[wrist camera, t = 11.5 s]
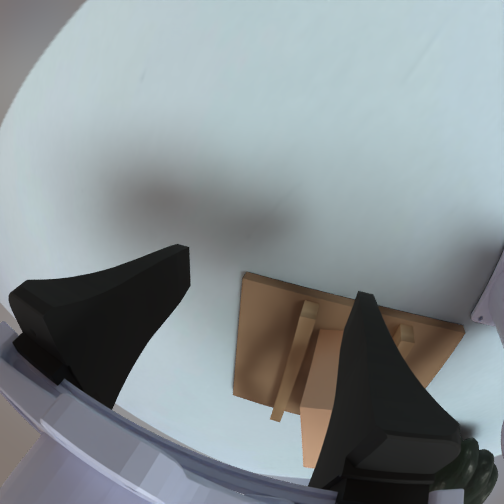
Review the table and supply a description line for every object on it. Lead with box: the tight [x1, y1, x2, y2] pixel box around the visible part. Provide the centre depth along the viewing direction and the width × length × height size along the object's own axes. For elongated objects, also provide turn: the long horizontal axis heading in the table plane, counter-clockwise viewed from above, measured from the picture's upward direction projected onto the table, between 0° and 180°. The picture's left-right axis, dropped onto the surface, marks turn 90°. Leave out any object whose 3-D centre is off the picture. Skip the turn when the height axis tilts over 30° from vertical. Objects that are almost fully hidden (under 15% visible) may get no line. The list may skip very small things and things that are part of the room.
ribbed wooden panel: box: [233, 272, 465, 422], centre depth 26 cm, size 20×18×3 cm
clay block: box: [300, 329, 344, 468], centre depth 23 cm, size 2×12×8 cm, turn 9°
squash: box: [429, 437, 498, 504], centre depth 22 cm, size 14×15×15 cm
